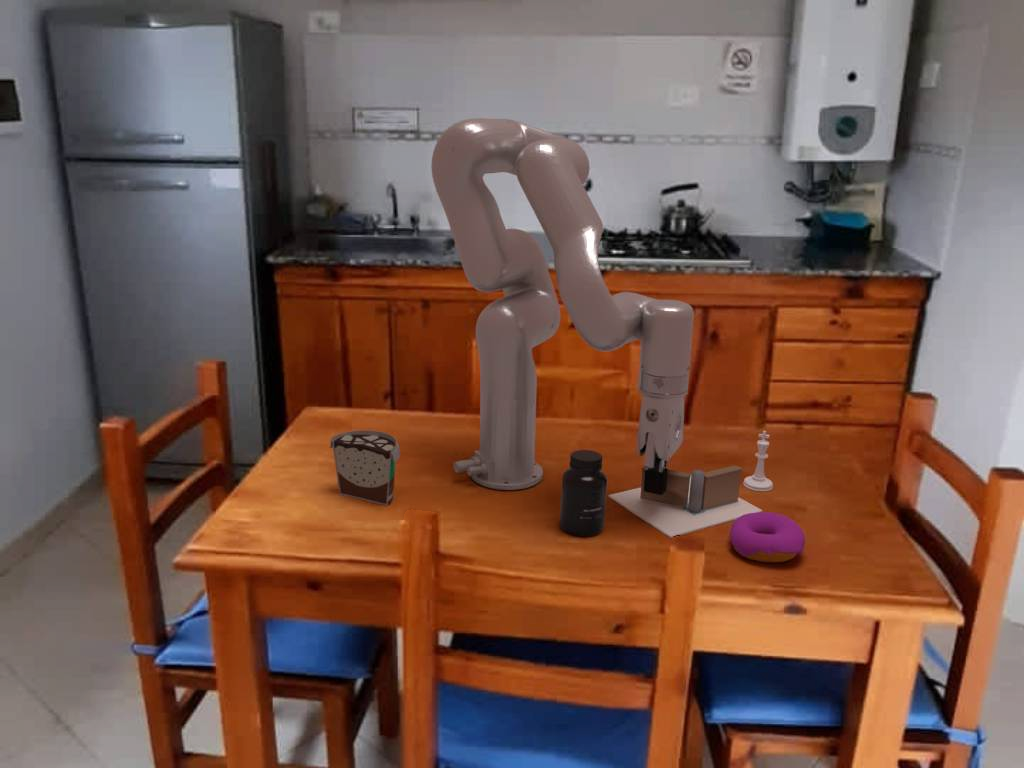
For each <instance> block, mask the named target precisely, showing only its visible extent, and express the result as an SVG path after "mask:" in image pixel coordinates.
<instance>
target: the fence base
mask: <svg viewBox="0 0 1024 768" xmlns="http://www.w3.org/2000/svg"><path fill="white" fill-rule="evenodd" d="M742 472H743V468H742V467H740V466H738V465H735V464H734V465H731V466H727V467H723V468H718V469H715V470H714V469H713V470H711V471H706V472H705V471H704V470H701V469H693V470H691V473H690V474H691V475H690V483H689V494H688V504H687V506H686V508H684V507H679V506H674V505H669V504H664V503H659V502H655V501H650V500H645V499H640V496H641V487H637V488H633V489H628V490H624V491H620V492H615V493H611V494H607V495H608V496H607V497H608V498H609V499H611V500H612V501H614V502H616V503H617V504H619V505H620V506H621V507H622V508H624V509H626V510H627V511H629V512H631V513H632V514H633V515H635V516H637V517H638V518H640V519H641V520H643V521H644V522H646V523H647V524H649V525H650V526H652V527H654V528H655V529H656V530H658V531H659V532H661V533H662V534H663V535H666V536H667V537H669V538H670V539H673V538H674V537H673V536H676V535H680V536H682V535H686V534H690V533H693V532H696V531H701V530H704V529H705V530H706V529H708V528H711V527H714V526H718V525H721V524H725V523H729V522H734V521H735V520H736V519H737V518H739V517H740V516H742V515H745V514H749V513H758V512H763V509H760V508H759V507H757V506H755V505H753V504H751V503H750V502H747V501H746V500H744V499H743V498H740V497H739V494H740V487H741V486H740V484H741V476H742ZM676 537H677V536H676Z"/></svg>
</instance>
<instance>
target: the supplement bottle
mask: <svg viewBox="0 0 1024 768" xmlns="http://www.w3.org/2000/svg"><path fill="white" fill-rule="evenodd" d="M568 464H569V468H566V469H565V471H564V472H563V474H562V477H561V478H562V479H561V493H560V494H561V496H560V508H559V509H560V511H559V525H560V528H561V529H562V530H563V531H564V532H565V533H568V534H569V535H572V536H576V537H583V538H584V537H592V536H593V537H594V536H596V535H598V534H600V533H601V532H602V531H603V529H604V527H605V518H606V507H607V506H606V504H607V493H608V491H607V489H608V478H607V475H606V473H605V472H604V471H603V470H602V469H603V455H602V454H601V452H600V453H599V452H598V451H595V450H590V449H578V450H574V451H572V452H571V453H570V459H569V463H568Z"/></svg>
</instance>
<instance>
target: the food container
mask: <svg viewBox="0 0 1024 768" xmlns="http://www.w3.org/2000/svg"><path fill="white" fill-rule="evenodd" d="M329 449H333V456H334V462H335V471H336V478H337V486H338V493H339V495H340V496H343V497H344V496H346V497H349V498H353V499H357V500H361V499H362V501H365V500H366V501H365V502H370V503H373V502H374V503H375V504H378V505H382V504H383V506H386V505H388V506H390V505H391V503H392V502H393V500H394V490H395V489H394V488H395V478H396V477H395V473H396V462H397V460H399V458H400V456H401V450H400V446H399V443H398V441H397V439H396V437H394V436H393V435H392V434H390V433H386V432H384V431H379V430H368V429H367V430H366V429H363V430H361V429H360V430H350V431H345V432H342V433H338V434H335V435H333V436H331V440H330V445H329ZM374 503H373V504H374Z"/></svg>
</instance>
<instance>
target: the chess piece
mask: <svg viewBox="0 0 1024 768" xmlns="http://www.w3.org/2000/svg"><path fill="white" fill-rule="evenodd" d="M758 438H762V439H759V440H757V441H756V444H757V449H758V452H755V454H754V456H755V457H757V463H756V467H755V470H754V473H753V474H752V475H749V476H746V477H745V478H744V479H743V482H742V483H743V485H744V486H743V487H745V488H747V489H749V490H750V491H751V490H752V491H756V492H768V491H771V490H772V489H773V488H774V486H773V482H772V480H770V479H769V478H767V477H766V476H765V459H767V458H768V457H769V454H768V453H766V452H767V449H768V447H769V445H770V442H769V441H768V440H766V439H770V434H767V430H762V434H761V433H759V434H758Z"/></svg>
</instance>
